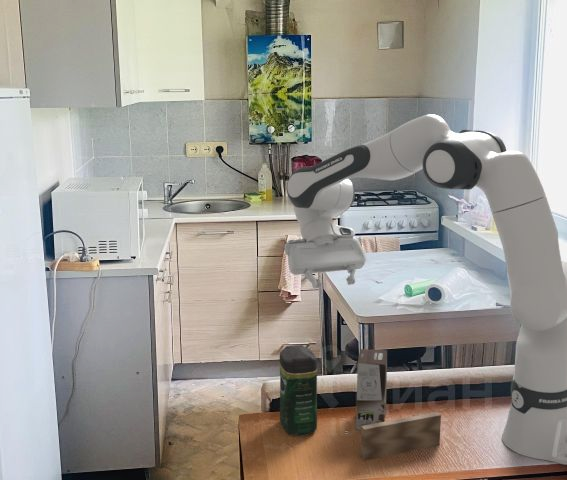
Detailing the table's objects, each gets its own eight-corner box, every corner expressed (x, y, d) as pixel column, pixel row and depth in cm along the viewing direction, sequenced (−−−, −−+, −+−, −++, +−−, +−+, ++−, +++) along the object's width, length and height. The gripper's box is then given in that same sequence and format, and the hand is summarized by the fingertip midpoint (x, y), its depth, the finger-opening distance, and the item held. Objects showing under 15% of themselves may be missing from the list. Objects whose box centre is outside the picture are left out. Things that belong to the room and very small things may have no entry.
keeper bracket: (426, 433, 152) (427, 404, 151) (439, 445, 147) (441, 415, 146) (352, 447, 147) (352, 417, 145) (363, 460, 141) (364, 429, 140)
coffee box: (384, 432, 153) (386, 364, 149) (355, 430, 154) (356, 362, 151) (386, 413, 162) (388, 349, 158) (359, 411, 163) (360, 347, 159)
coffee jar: (321, 434, 152) (321, 356, 148) (286, 439, 150) (286, 359, 146) (309, 415, 161) (309, 340, 157) (276, 419, 159) (275, 343, 155)
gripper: (285, 234, 171) (299, 283, 164) (359, 228, 178) (375, 275, 171) (279, 247, 176) (292, 295, 169) (351, 241, 183) (366, 287, 176)
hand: (334, 285), depth 170 cm, fingers open, 8 cm apart
